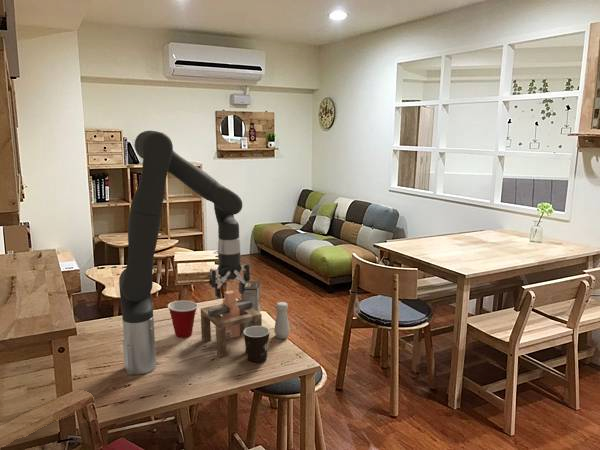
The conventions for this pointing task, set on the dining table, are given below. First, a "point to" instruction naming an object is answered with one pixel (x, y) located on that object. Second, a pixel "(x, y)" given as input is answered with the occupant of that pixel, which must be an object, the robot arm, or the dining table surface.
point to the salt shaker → (281, 321)
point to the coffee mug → (256, 343)
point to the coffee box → (252, 297)
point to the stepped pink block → (231, 312)
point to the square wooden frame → (226, 322)
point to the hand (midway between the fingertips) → (230, 295)
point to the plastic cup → (183, 317)
